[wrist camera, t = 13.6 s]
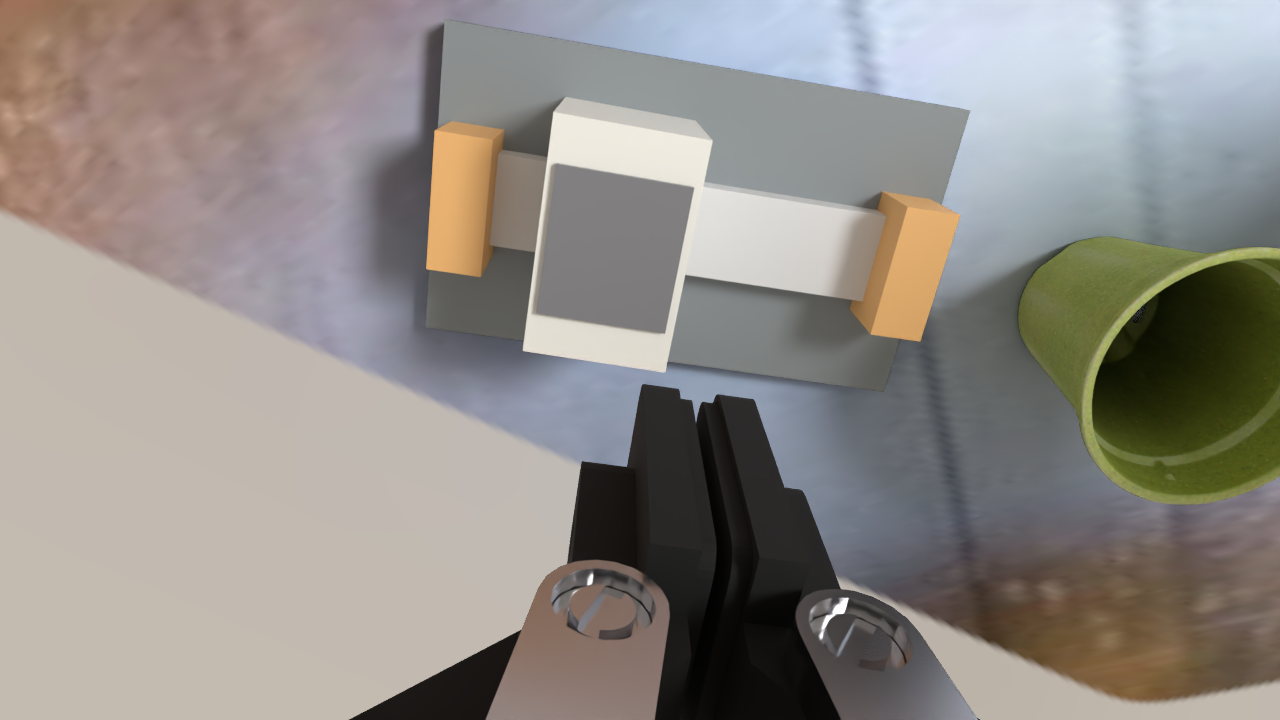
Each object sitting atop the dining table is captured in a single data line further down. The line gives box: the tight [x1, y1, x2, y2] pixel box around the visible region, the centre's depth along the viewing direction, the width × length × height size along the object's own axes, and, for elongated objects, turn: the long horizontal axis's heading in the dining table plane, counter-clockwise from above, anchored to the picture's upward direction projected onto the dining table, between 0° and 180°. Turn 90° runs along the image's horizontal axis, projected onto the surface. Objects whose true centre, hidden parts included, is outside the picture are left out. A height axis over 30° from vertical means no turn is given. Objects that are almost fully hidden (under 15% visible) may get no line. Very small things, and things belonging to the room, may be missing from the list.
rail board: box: [425, 20, 970, 392], centre depth 31 cm, size 20×12×4 cm, turn 81°
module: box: [523, 97, 713, 373], centre depth 29 cm, size 5×8×6 cm, turn 170°
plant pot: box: [1018, 237, 1280, 505], centre depth 31 cm, size 9×9×9 cm
